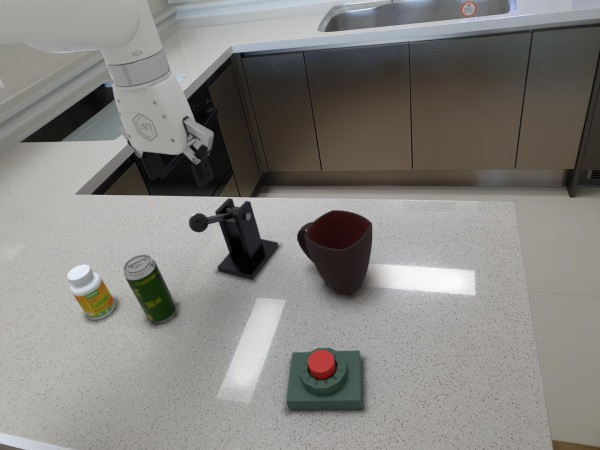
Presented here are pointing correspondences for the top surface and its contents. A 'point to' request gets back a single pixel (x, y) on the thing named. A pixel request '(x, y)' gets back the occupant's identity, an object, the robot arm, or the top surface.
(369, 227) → the cup
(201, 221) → the switch lever
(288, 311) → the top surface
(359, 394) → the control box
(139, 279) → the beer can
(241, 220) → the switch bracket
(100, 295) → the supplement bottle
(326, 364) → the stop button
